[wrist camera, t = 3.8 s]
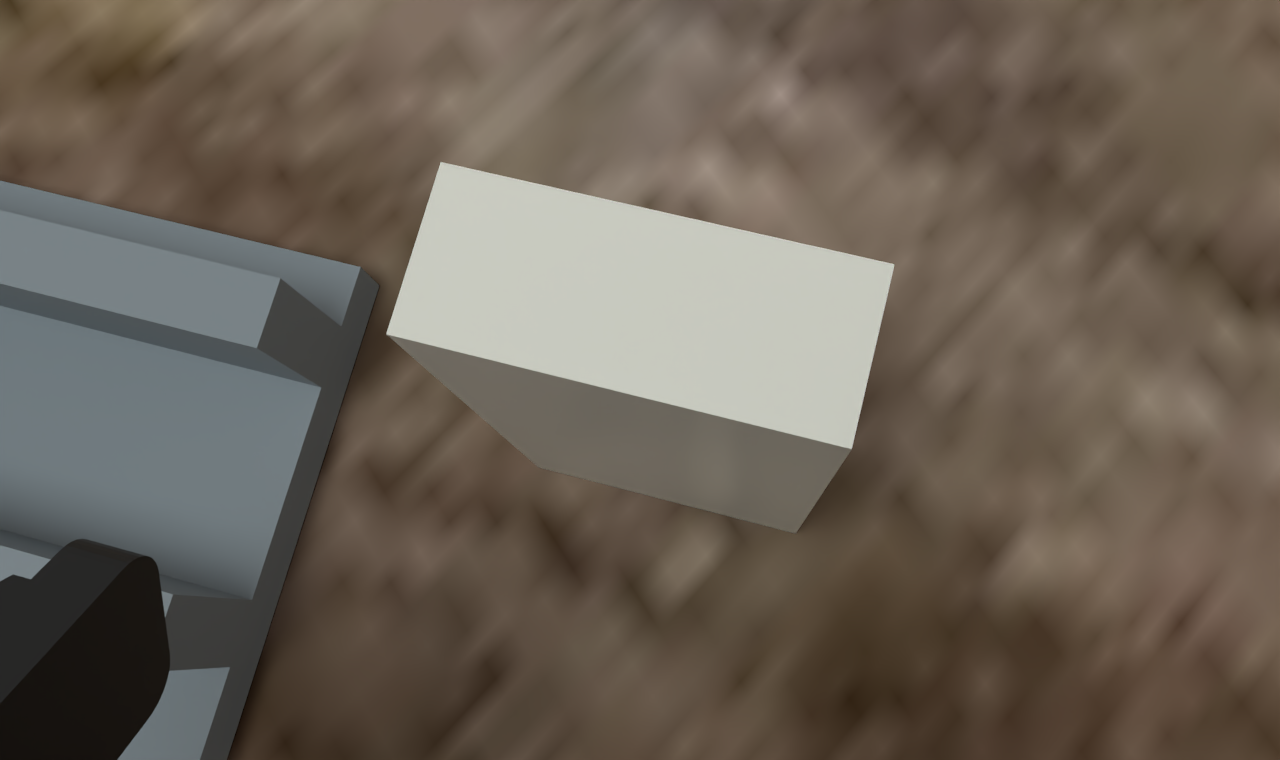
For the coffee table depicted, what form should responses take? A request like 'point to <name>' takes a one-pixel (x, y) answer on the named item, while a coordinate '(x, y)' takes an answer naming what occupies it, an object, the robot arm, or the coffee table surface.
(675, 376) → the off-white rectangular block
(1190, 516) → the coffee table surface
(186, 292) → the ribbed grey platform
